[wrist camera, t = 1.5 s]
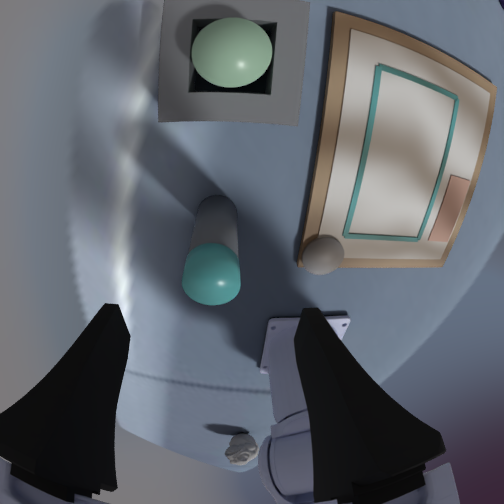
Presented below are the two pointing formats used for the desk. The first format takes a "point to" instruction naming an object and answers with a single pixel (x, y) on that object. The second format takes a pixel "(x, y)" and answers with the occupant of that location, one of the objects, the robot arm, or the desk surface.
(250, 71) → the button
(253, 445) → the grey lumpy rounded piece
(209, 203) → the marker
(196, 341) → the desk surface
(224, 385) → the desk surface
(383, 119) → the framed board
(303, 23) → the button housing
